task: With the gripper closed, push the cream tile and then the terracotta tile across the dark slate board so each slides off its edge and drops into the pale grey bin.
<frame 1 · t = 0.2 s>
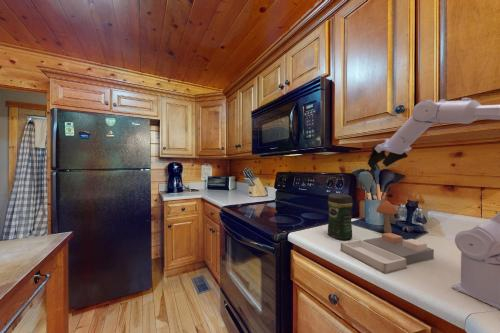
hand: (377, 164, 74), 31 cm above the worktop, tool tilted 45°, fingers open, 7 cm apart
coffee jar: (339, 237, 86), on the worktop
grey bin: (370, 258, 66), on the worktop
cream tile: (414, 247, 68), point 3 cm above the worktop, touching slate board
slate board: (396, 253, 70), on the worktop
mushroom: (386, 233, 91), on the worktop
terracotta tile: (391, 240, 74), point 3 cm above the worktop, touching slate board
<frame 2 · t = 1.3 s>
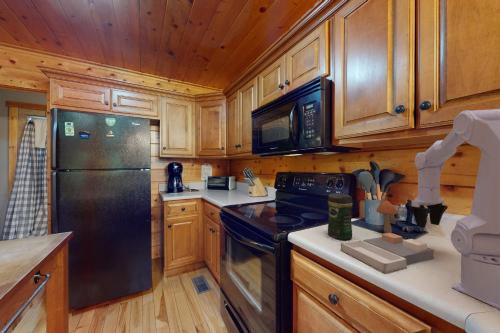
hand: (427, 225, 70), 10 cm above the worktop, tool pointing down, fingers open, 7 cm apart
nothing on the worktop moved.
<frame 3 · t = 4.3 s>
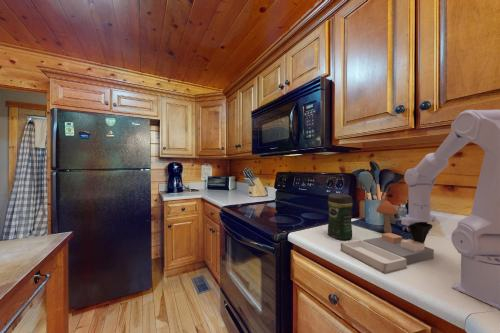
hand: (418, 244, 68), 4 cm above the worktop, tool pointing down, fingers closed
cream tile: (412, 248, 67), point 3 cm above the worktop
everything else where it was.
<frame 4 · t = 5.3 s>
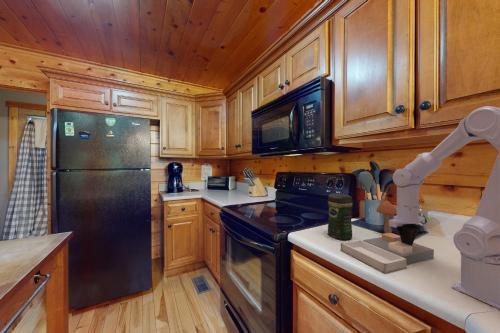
hand: (407, 246, 66), 4 cm above the worktop, tool pointing down, fingers closed
cream tile: (400, 250, 65), point 3 cm above the worktop, touching gripper
everything else where it was.
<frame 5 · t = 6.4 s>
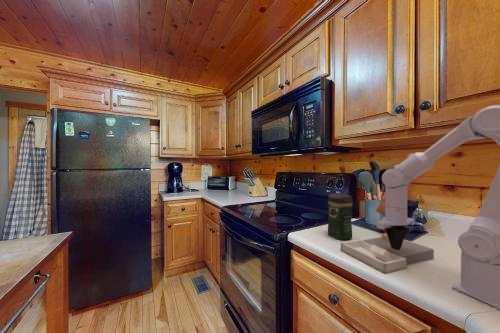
hand: (395, 248, 64), 4 cm above the worktop, tool pointing down, fingers closed
cream tile: (382, 251, 63), point 4 cm above the worktop, tilted 131°, touching grey bin
everything else where it was.
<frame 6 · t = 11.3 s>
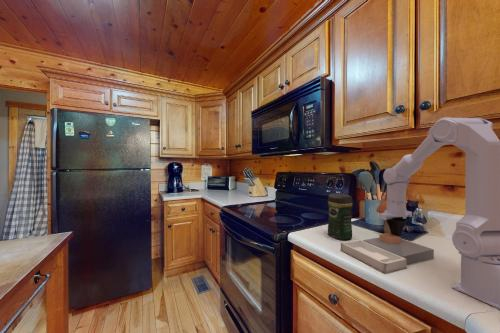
hand: (395, 237, 75), 4 cm above the worktop, tool pointing down, fingers closed
cream tile: (377, 256, 62), point 2 cm above the worktop, tilted 180°, touching grey bin
terracotta tile: (389, 241, 73), point 3 cm above the worktop, touching gripper
everything else where it was.
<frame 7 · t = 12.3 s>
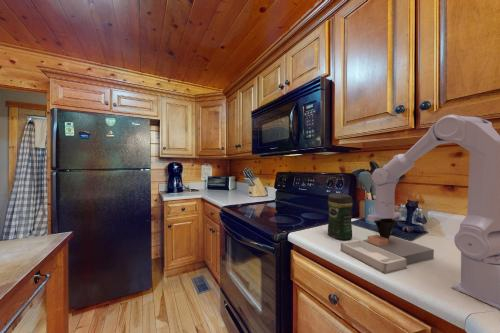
hand: (384, 239, 73), 4 cm above the worktop, tool pointing down, fingers closed
terracotta tile: (377, 243, 72), point 3 cm above the worktop, touching gripper
everything else where it was.
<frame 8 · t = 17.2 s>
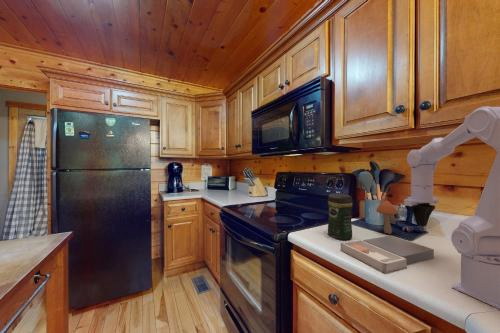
hand: (421, 225, 68), 10 cm above the worktop, tool pointing down, fingers closed
terracotta tile: (358, 247, 69), point 2 cm above the worktop, tilted 180°, touching grey bin
everything else where it was.
at the end: cream tile inside the target area on the grey bin (3.7 cm from its centre), point 2.5 cm above the grey bin's base; terracotta tile inside the target area on the grey bin (3.8 cm from its centre), point 2.5 cm above the grey bin's base; cream tile touching grey bin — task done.
